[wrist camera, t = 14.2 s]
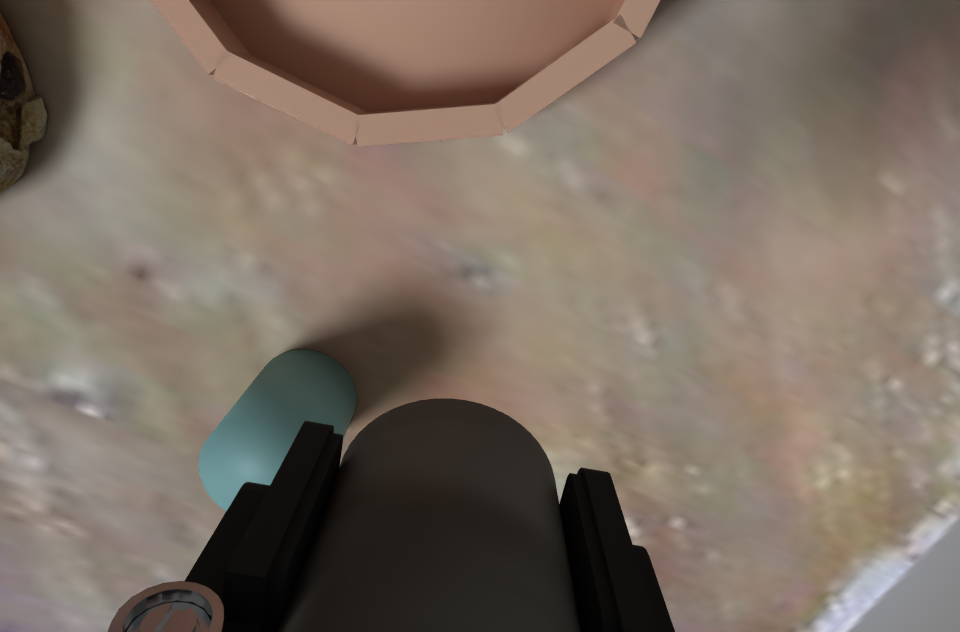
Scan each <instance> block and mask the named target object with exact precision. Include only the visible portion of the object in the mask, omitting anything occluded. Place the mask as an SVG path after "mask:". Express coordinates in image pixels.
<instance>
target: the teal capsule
mask: <svg viewBox="0 0 960 632" xmlns="http://www.w3.org/2000/svg"><path fill="white" fill-rule="evenodd" d="M356 403H357V395H356V389H355V385H354V383H353V380H352V378H351V377H350V375H349V374H348V372H347V371H346V370H345V368H344V367H343V366H342V365H341V364H339V363H338V362H337V361H336V360H334V359H333V358H331V357H329V356H327V355H325V354H323V353H320V352H316V351H312V350H292V351H288V352H285V353H282V354H280V355H278V356H277V357H275V358H273V359H272V360H271V361H270V362H269V363H268V364H267V365H266V366H265V367H264V369H263V370H262V371H261V372H260V374H259V375H258V376H257V377H256V379H255V380H254V381H253V382H252V384H251V385H250V386H249V387H248V389H247V390H246V391H245V392H244V394H243V395H242V396H241V397H240V399H239V400H238V401H237V402H236V404H235V405H234V406H233V407H232V409H231V410H230V411H229V412H228V414H227V415H226V416H225V417H224V419H223V420H222V421H221V422H220V424H219V425H218V426H217V427H216V429H215V430H214V431H213V432H212V434H211V435H210V436H209V437H208V439H207V440H206V442H205V443H204V445H203V447H202V449H201V452H200V456H199V473H200V478H201V481H202V483H203V486H204V488H205V489H206V491H207V493H208V494H209V496H210V497H211V498H212V499H213V500H214V502H215V503H216V504H218V505H219V506H220V507H221V508H222V509H224V510H225V511H227V510H228V508H229V506H230V505H231V503H232V501H233V500H234V498H235V496H236V495H237V493H238V491H239V490H240V488H241V487H242V485H243V484H244V483H246V482H252V483H259V484H265V485H271V483H272V481H273V479H274V477H275V475H276V473H277V471H278V470H279V468H280V466H281V464H282V462H283V460H284V458H285V456H286V455H287V453H288V451H289V449H290V447H291V445H292V443H293V441H294V439H295V438H296V436H297V434H298V432H299V430H300V428H301V426H302V424H303V423H304V421H310V422H316V423H322V424H328V425H333V426H334V433H336V434H342V435H343V438H344V436H345V433H346V431H347V428H348V426H349V424H350V421H351V419H352V417H353V414H354V411H355V408H356Z"/></svg>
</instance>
